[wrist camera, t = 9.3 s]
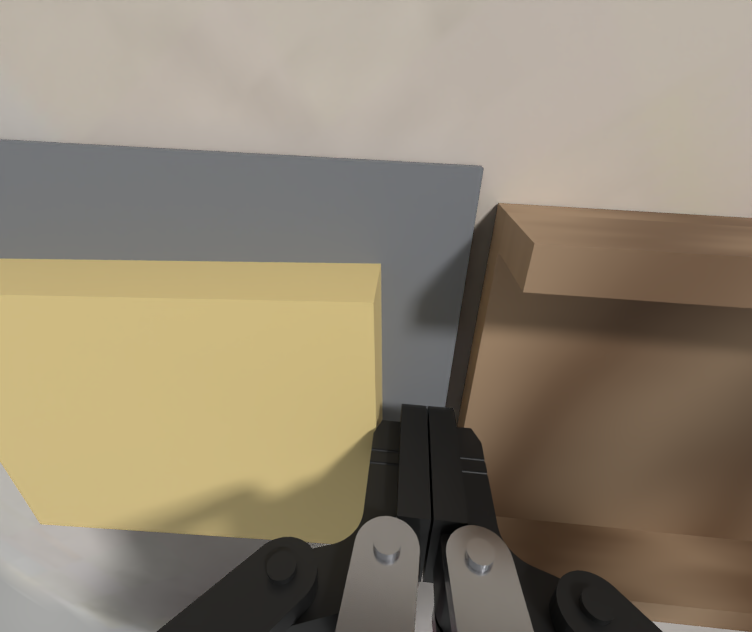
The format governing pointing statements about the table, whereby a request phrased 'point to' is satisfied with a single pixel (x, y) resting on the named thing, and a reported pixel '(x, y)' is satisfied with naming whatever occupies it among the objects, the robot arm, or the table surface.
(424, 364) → the charcoal mat
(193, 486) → the cover plate
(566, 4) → the table surface
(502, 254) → the walnut box
